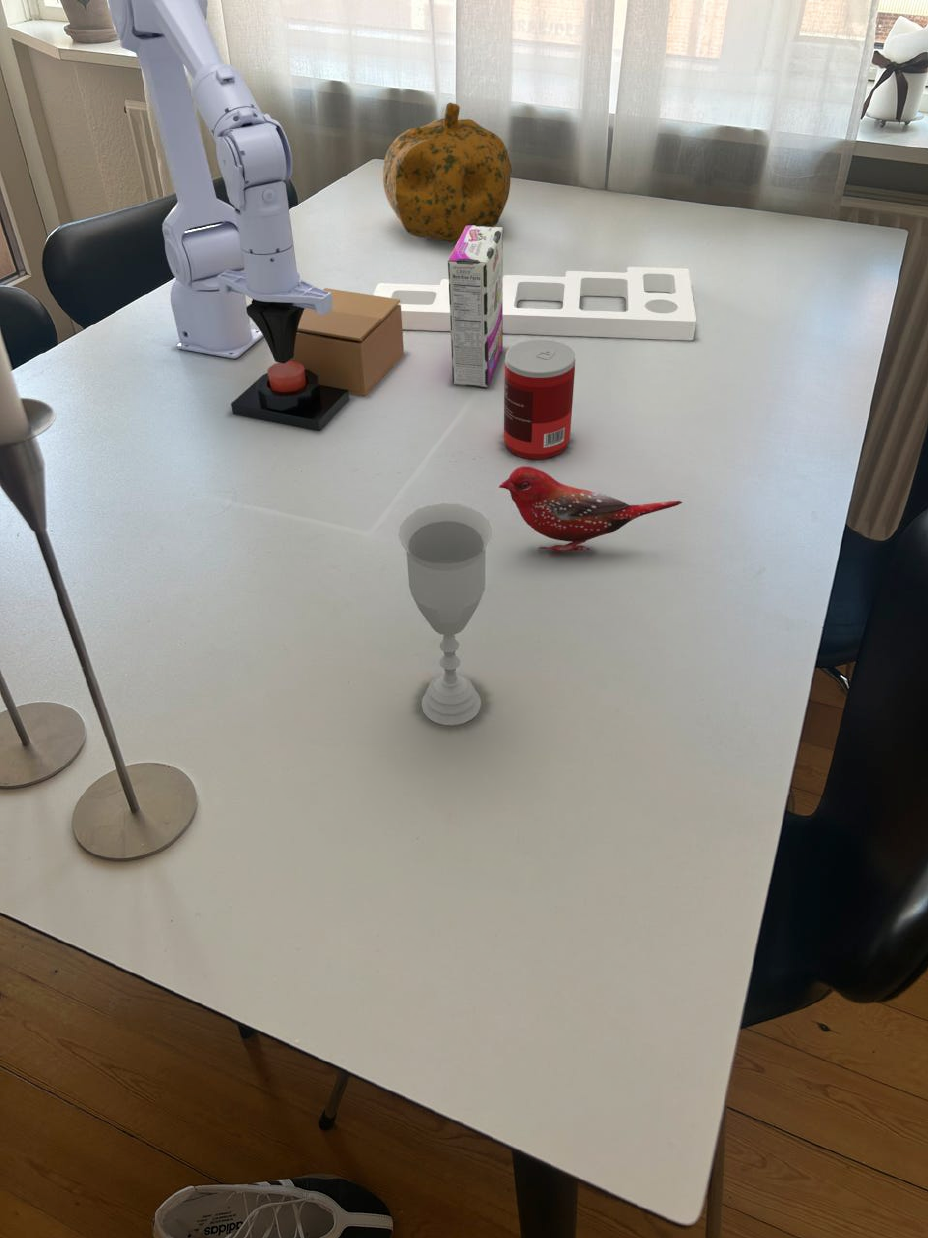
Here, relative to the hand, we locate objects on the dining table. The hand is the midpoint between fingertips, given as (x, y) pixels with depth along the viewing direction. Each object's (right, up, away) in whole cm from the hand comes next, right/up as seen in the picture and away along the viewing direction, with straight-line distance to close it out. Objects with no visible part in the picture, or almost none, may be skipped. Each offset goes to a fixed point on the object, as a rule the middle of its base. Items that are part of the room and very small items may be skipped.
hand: (284, 359), depth 115 cm
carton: (+6, +2, +12) cm, 13 cm away
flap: (+7, +9, +9) cm, 15 cm away
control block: (0, -5, +4) cm, 6 cm away
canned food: (+30, -11, -2) cm, 32 cm away
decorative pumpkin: (+19, +35, +48) cm, 62 cm away
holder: (+31, +14, +25) cm, 43 cm away
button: (0, -2, +2) cm, 3 cm away
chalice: (+20, -38, -33) cm, 55 cm away
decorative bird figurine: (+34, -24, -18) cm, 45 cm away
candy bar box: (+23, +2, +12) cm, 26 cm away
